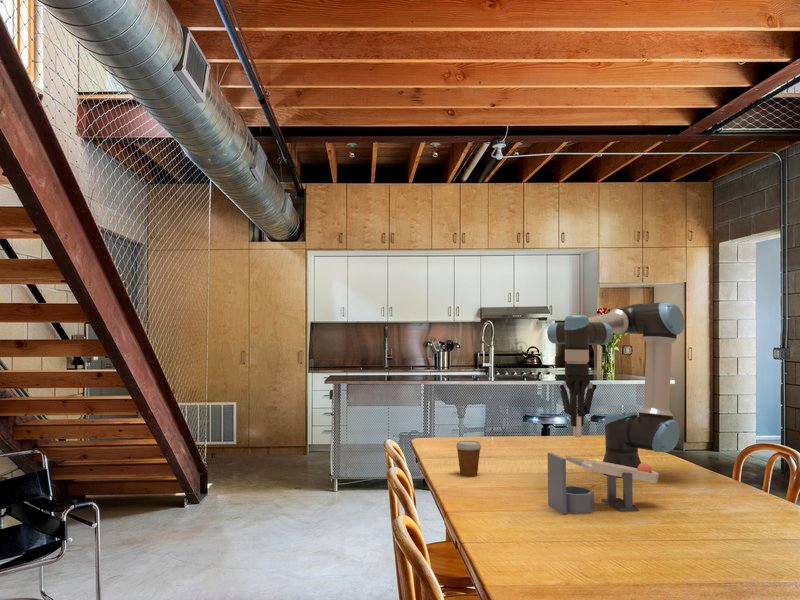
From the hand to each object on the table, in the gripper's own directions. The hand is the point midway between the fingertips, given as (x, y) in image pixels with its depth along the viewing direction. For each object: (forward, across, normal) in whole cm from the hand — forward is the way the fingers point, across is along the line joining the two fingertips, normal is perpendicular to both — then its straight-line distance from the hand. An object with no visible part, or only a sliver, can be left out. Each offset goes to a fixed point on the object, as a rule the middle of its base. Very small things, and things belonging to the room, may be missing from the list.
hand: (577, 436), depth 199 cm
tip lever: (+11, -9, +5) cm, 15 cm away
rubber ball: (+9, -17, +10) cm, 22 cm away
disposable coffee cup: (+20, +24, -39) cm, 50 cm away
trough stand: (+20, -9, +10) cm, 24 cm away
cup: (+20, +6, +10) cm, 23 cm away
